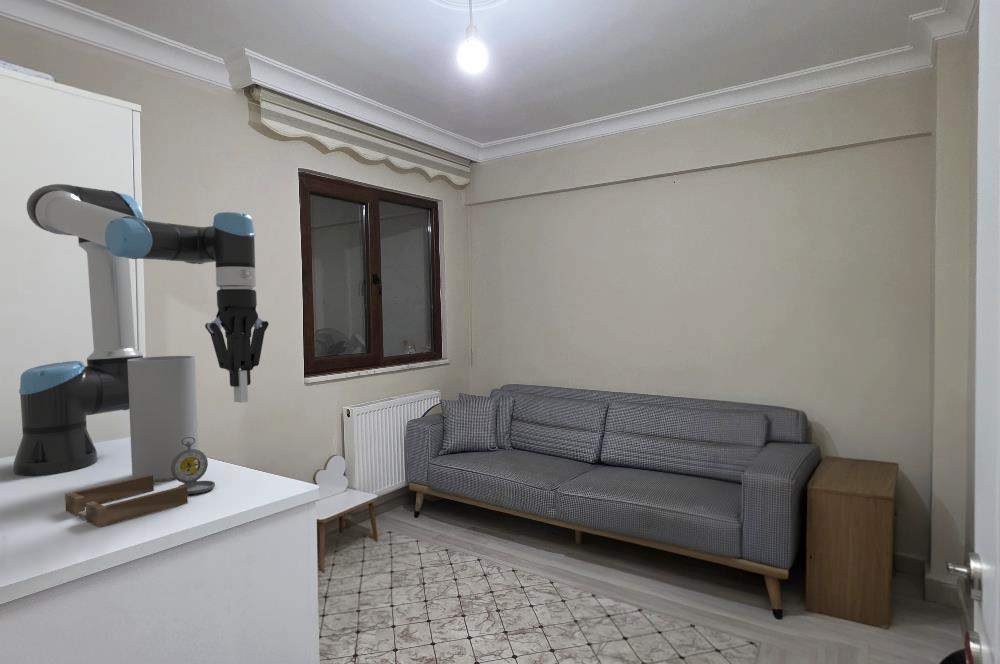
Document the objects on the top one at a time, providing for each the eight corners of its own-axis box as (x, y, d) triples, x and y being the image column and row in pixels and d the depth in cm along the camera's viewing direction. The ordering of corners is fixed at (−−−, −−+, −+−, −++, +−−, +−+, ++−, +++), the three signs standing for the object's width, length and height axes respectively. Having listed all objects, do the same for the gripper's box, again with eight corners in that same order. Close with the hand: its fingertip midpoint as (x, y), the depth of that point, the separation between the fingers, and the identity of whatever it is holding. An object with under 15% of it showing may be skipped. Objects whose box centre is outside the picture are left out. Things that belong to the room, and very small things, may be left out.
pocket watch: (199, 497, 110) (197, 444, 110) (160, 494, 112) (158, 442, 112) (227, 484, 118) (226, 434, 118) (191, 482, 120) (189, 433, 120)
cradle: (65, 510, 104) (64, 493, 104) (150, 489, 115) (150, 474, 115) (99, 527, 95) (98, 509, 95) (187, 502, 107) (187, 486, 107)
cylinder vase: (118, 479, 123) (113, 360, 122) (171, 463, 134) (167, 355, 133) (160, 485, 118) (155, 361, 117) (212, 469, 130) (208, 356, 128)
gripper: (215, 287, 114) (220, 407, 115) (275, 288, 125) (279, 398, 126) (195, 288, 118) (200, 404, 119) (255, 289, 129) (259, 396, 130)
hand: (241, 401), depth 123 cm, fingers closed
